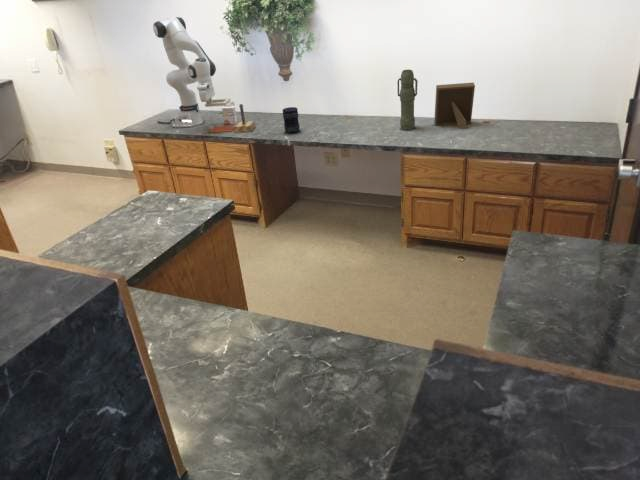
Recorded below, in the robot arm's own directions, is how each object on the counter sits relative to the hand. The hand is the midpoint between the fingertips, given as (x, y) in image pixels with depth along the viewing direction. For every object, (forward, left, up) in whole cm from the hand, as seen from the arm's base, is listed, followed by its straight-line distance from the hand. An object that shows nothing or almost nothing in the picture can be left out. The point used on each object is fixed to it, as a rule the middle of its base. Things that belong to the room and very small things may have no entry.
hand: (209, 105), depth 340 cm
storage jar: (+56, -10, -18) cm, 60 cm away
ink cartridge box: (+6, +21, -18) cm, 29 cm away
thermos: (+130, -16, -18) cm, 132 cm away
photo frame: (+158, -16, -18) cm, 160 cm away
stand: (+21, +2, -18) cm, 28 cm away
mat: (+4, +6, -18) cm, 20 cm away
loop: (+4, +6, -1) cm, 7 cm away
